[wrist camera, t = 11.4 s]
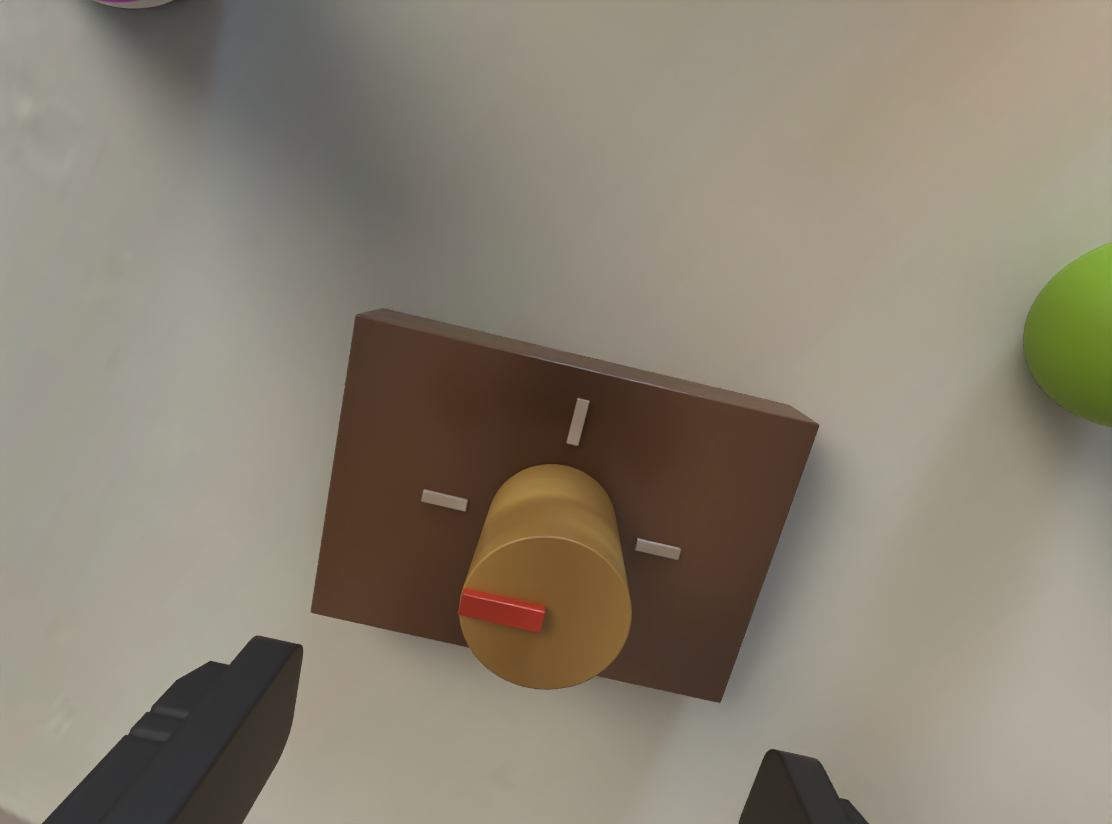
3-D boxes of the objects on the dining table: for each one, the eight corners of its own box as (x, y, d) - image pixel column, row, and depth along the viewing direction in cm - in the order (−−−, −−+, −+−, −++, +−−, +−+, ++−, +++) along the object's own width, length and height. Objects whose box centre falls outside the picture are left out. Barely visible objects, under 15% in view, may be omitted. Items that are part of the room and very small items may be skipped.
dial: (630, 480, 18) (653, 564, 13) (598, 594, 19) (608, 715, 14) (502, 450, 18) (475, 524, 13) (476, 566, 19) (441, 678, 14)
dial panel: (790, 405, 20) (822, 425, 18) (704, 656, 23) (721, 707, 20) (381, 307, 20) (353, 314, 17) (338, 574, 22) (307, 615, 20)
